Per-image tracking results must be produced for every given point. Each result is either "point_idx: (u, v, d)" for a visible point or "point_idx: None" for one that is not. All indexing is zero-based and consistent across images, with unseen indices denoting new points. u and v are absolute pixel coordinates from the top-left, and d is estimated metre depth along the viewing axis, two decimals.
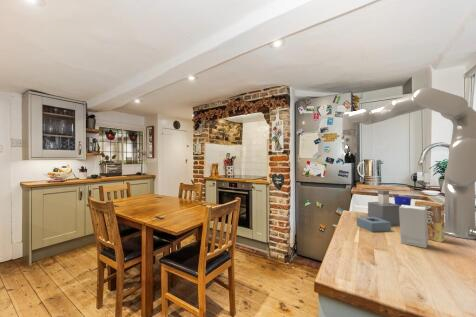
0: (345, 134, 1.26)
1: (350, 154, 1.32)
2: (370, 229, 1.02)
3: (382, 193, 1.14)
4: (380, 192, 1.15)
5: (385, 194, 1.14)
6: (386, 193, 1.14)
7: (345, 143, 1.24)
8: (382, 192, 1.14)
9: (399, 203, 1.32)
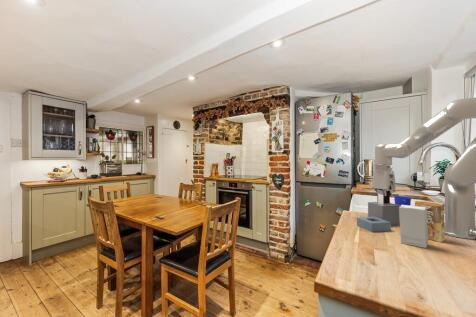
0: (386, 169, 1.12)
1: None
2: (370, 229, 1.02)
3: (382, 193, 1.14)
4: (380, 192, 1.15)
5: None
6: None
7: (389, 179, 1.11)
8: (382, 192, 1.14)
9: (399, 203, 1.32)
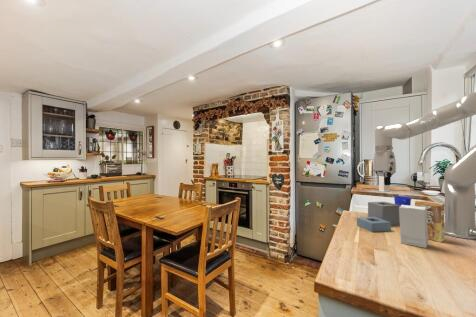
0: (386, 150, 1.12)
1: (378, 174, 1.18)
2: (370, 229, 1.02)
3: (383, 175, 1.14)
4: (381, 174, 1.15)
5: None
6: None
7: (389, 160, 1.11)
8: (383, 174, 1.14)
9: (399, 203, 1.32)
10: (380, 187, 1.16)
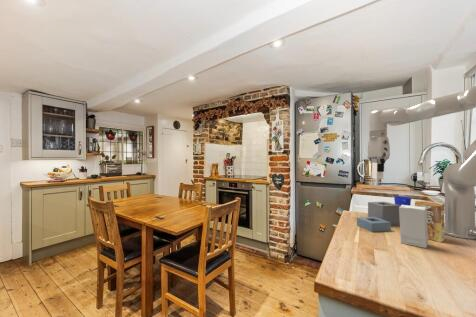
0: (380, 135, 1.08)
1: None
2: (370, 229, 1.02)
3: (376, 161, 1.10)
4: (374, 160, 1.11)
5: None
6: None
7: (383, 146, 1.06)
8: (376, 160, 1.10)
9: (399, 203, 1.32)
10: (373, 174, 1.12)
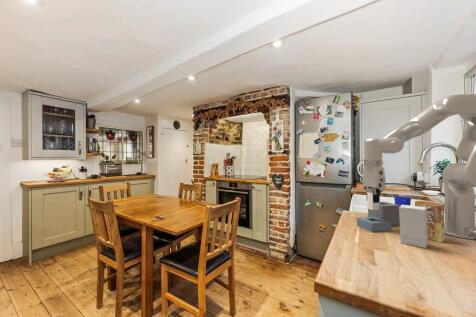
0: (375, 165, 1.03)
1: None
2: (370, 229, 1.02)
3: (371, 191, 1.06)
4: (369, 190, 1.07)
5: None
6: None
7: (378, 176, 1.02)
8: (371, 190, 1.06)
9: (399, 203, 1.32)
10: (368, 204, 1.07)
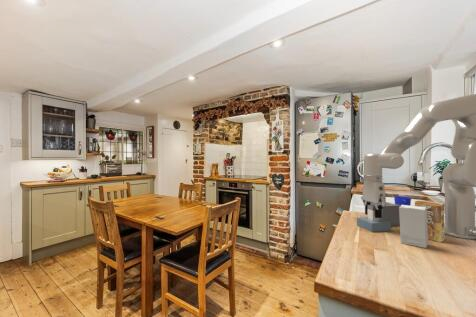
0: (375, 181, 1.03)
1: None
2: (370, 229, 1.02)
3: (371, 209, 1.05)
4: (369, 207, 1.07)
5: None
6: None
7: (378, 192, 1.02)
8: (371, 207, 1.05)
9: (399, 203, 1.32)
10: None
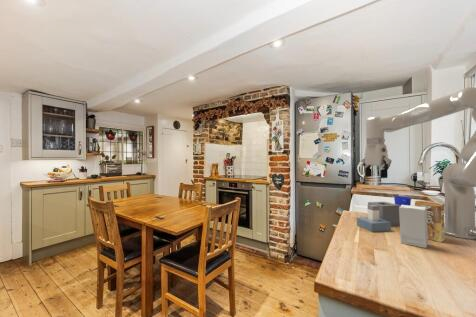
0: (378, 143, 1.04)
1: None
2: (370, 229, 1.02)
3: (371, 209, 1.05)
4: (369, 207, 1.07)
5: (375, 210, 1.05)
6: (376, 209, 1.05)
7: (381, 154, 1.03)
8: (371, 207, 1.05)
9: (399, 203, 1.32)
10: None
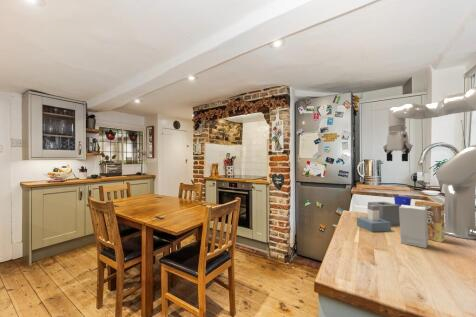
0: (400, 130, 1.17)
1: None
2: (370, 229, 1.02)
3: (371, 209, 1.05)
4: (369, 207, 1.07)
5: (375, 210, 1.05)
6: (376, 209, 1.05)
7: (403, 139, 1.15)
8: (371, 207, 1.05)
9: (399, 203, 1.32)
10: None
